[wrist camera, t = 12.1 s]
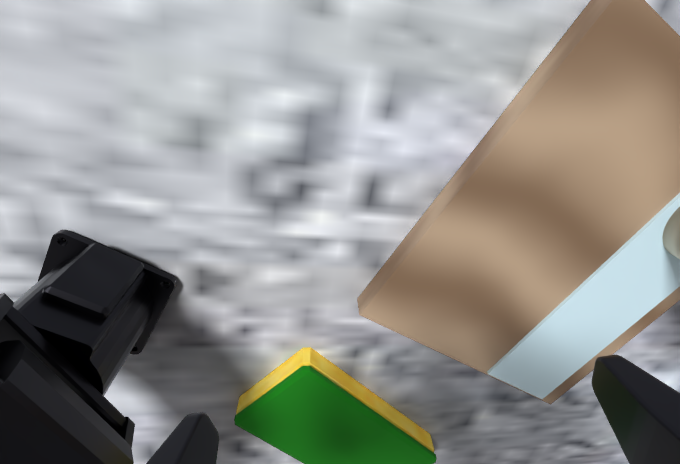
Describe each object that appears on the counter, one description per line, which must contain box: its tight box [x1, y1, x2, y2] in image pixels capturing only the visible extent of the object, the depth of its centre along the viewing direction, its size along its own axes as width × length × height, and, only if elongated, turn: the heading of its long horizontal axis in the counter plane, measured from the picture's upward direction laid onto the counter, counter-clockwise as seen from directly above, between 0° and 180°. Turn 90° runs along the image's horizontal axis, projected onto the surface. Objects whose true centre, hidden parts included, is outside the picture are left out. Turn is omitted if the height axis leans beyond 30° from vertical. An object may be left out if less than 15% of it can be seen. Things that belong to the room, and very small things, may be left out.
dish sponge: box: [234, 347, 437, 464], centre depth 27 cm, size 7×14×2 cm, turn 43°
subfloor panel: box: [357, 0, 680, 404], centre depth 21 cm, size 19×16×2 cm
